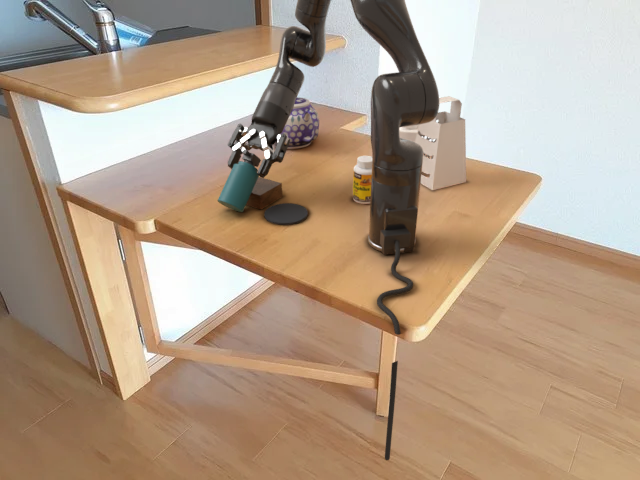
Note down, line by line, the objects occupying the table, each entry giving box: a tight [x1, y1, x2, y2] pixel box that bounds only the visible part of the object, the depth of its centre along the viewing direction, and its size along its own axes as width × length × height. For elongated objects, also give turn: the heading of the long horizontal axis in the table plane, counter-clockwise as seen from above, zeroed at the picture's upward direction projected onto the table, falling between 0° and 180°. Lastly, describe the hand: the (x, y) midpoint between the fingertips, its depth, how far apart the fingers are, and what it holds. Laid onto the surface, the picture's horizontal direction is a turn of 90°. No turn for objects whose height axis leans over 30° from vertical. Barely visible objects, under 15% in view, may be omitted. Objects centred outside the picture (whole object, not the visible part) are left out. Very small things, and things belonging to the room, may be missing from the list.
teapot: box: [275, 96, 320, 150], centre depth 153 cm, size 25×15×15 cm, turn 31°
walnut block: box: [246, 176, 283, 210], centre depth 122 cm, size 8×8×4 cm
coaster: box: [263, 202, 309, 226], centre depth 116 cm, size 10×10×1 cm
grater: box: [415, 95, 467, 191], centre depth 128 cm, size 10×10×20 cm
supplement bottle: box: [352, 155, 372, 205], centre depth 120 cm, size 6×6×10 cm
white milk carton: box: [399, 125, 419, 142], centre depth 147 cm, size 7×7×12 cm
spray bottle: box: [217, 150, 262, 213], centre depth 116 cm, size 12×6×13 cm, turn 147°
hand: (245, 172), depth 117 cm, fingers open, 8 cm apart
